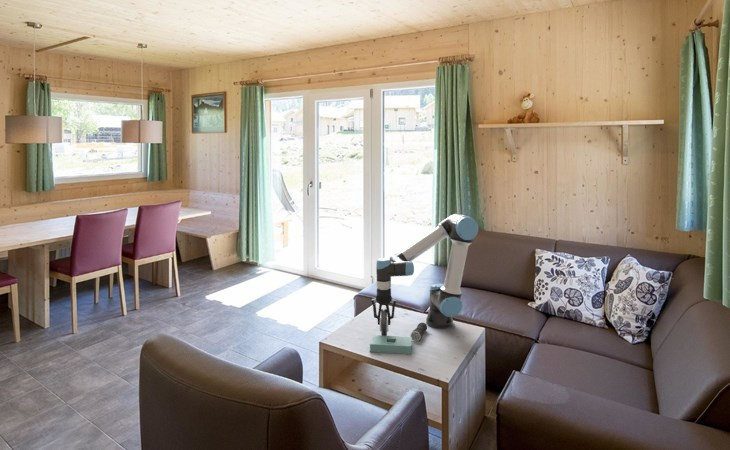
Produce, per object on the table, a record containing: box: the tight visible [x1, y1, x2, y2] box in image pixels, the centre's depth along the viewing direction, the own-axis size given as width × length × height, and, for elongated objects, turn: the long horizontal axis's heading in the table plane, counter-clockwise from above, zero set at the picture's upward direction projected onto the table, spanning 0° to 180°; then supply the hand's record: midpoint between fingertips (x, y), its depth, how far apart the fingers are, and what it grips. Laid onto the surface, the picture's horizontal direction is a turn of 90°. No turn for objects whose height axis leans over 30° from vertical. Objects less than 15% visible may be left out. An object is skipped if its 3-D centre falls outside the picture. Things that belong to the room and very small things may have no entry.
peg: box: [380, 308, 388, 336], centre depth 234 cm, size 3×3×14 cm
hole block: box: [369, 334, 413, 355], centre depth 222 cm, size 20×11×4 cm, turn 82°
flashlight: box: [409, 322, 428, 342], centre depth 237 cm, size 15×5×5 cm, turn 158°
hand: (384, 330), depth 235 cm, fingers closed on peg, 3 cm apart
